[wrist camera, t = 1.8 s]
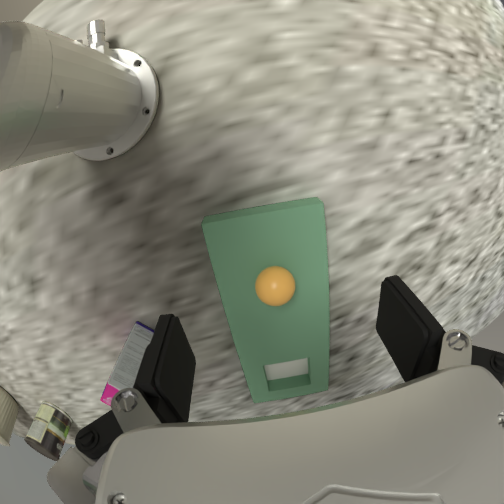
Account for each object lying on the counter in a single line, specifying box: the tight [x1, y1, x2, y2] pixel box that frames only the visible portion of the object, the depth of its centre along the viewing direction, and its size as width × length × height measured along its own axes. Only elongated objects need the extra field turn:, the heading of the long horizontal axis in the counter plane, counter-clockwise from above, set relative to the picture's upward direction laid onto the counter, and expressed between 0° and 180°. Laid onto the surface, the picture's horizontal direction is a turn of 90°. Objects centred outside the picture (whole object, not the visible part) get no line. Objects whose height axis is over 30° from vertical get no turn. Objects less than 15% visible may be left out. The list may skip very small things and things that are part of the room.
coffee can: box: [24, 402, 72, 461], centre depth 42 cm, size 10×10×14 cm
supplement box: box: [101, 321, 155, 406], centre depth 30 cm, size 6×6×12 cm
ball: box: [255, 266, 295, 306], centre depth 27 cm, size 4×4×4 cm
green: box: [201, 197, 329, 403], centre depth 33 cm, size 30×12×2 cm, turn 10°
